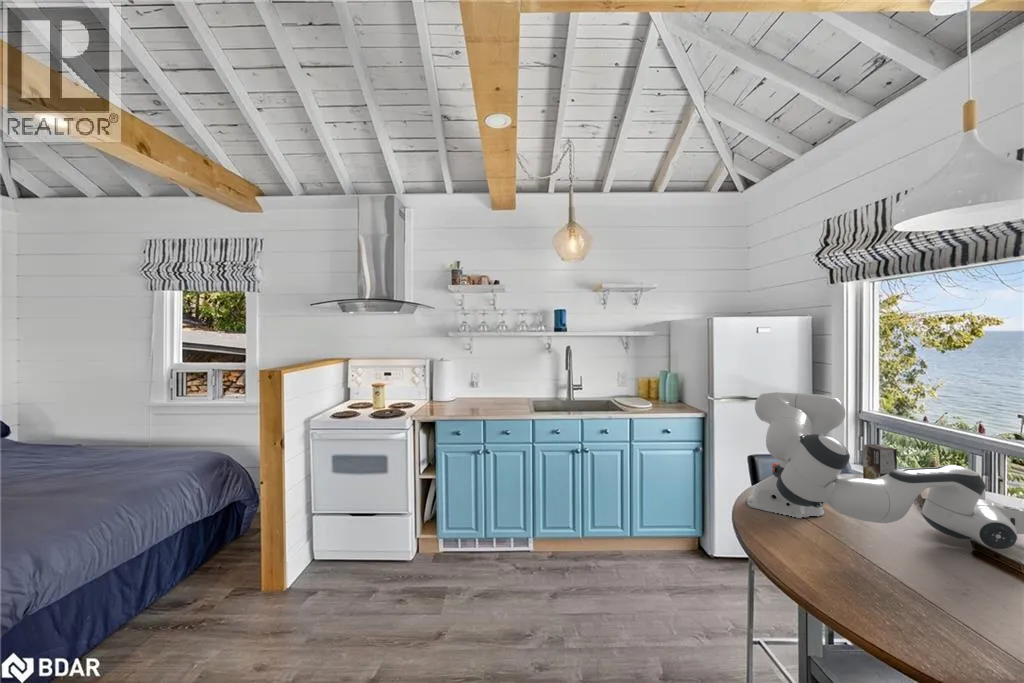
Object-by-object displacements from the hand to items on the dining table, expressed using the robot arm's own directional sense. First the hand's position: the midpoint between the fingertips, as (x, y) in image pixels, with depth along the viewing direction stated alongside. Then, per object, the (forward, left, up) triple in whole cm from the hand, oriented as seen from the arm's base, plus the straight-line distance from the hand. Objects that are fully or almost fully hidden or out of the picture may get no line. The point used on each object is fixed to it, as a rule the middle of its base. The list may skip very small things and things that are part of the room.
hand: (969, 501), depth 142 cm
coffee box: (-20, +27, -7) cm, 34 cm away
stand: (-3, +16, -7) cm, 17 cm away
